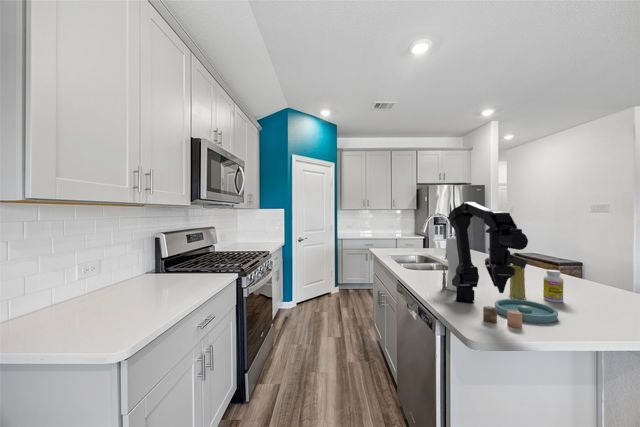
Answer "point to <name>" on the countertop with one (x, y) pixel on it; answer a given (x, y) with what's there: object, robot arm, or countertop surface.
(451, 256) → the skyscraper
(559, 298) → the supplement bottle
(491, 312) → the bead walnut
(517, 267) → the vase
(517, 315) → the bead terracotta
